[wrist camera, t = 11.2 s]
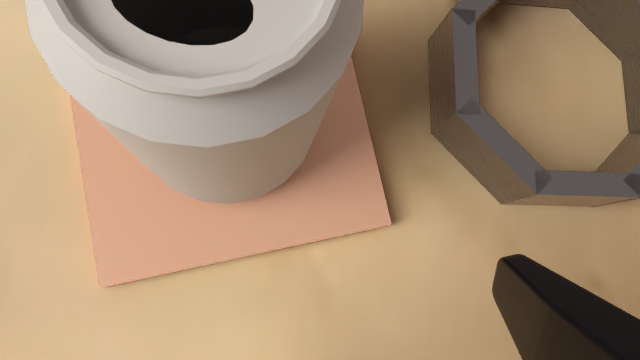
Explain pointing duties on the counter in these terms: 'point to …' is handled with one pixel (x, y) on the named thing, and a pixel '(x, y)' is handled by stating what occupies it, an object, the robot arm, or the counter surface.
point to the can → (203, 81)
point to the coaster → (221, 218)
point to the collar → (496, 144)
